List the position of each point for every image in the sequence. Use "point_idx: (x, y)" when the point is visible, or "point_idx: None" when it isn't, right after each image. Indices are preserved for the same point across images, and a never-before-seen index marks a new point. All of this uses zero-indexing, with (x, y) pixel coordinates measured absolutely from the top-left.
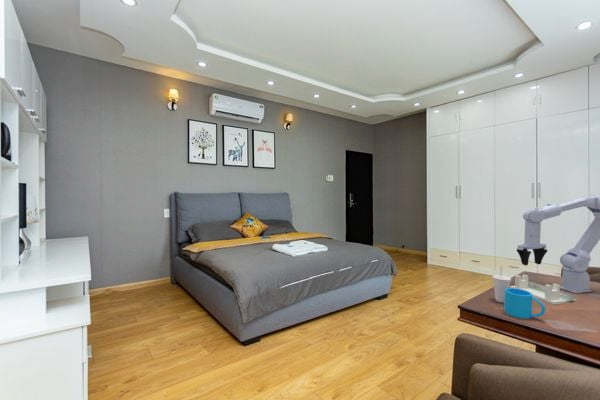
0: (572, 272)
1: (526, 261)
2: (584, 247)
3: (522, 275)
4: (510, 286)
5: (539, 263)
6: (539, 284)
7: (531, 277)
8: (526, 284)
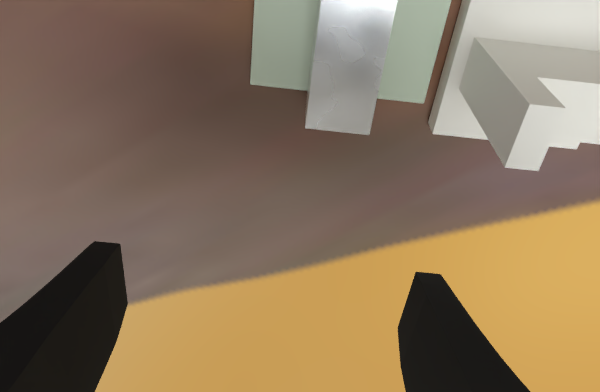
0: None
1: (478, 333)
2: None
3: (536, 160)
4: (579, 142)
5: (112, 256)
6: (332, 4)
7: (3, 263)
8: (514, 56)
